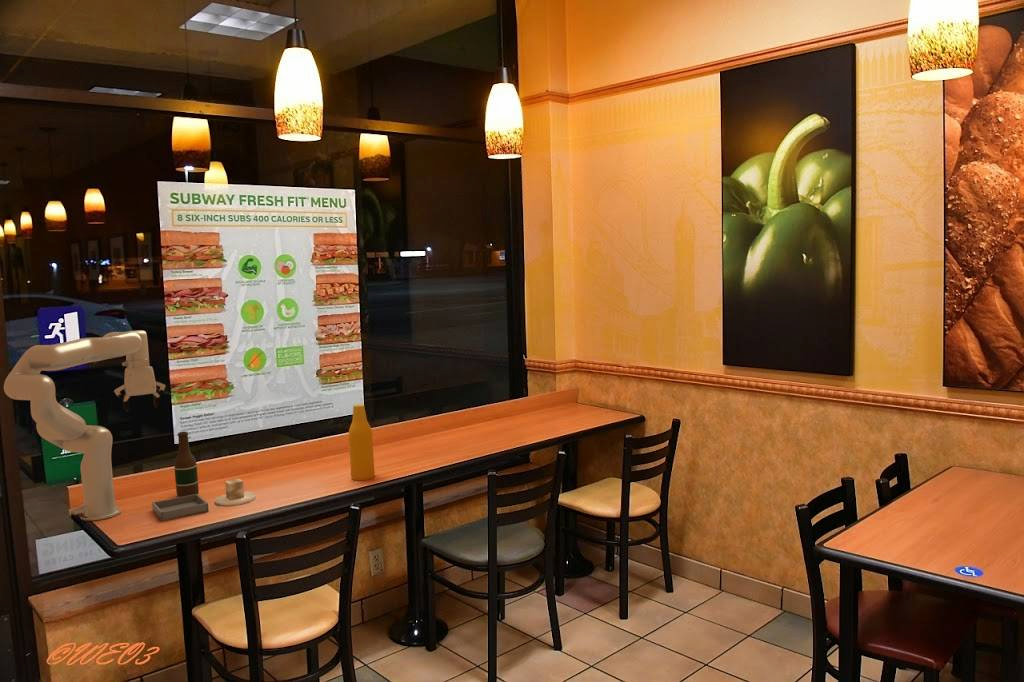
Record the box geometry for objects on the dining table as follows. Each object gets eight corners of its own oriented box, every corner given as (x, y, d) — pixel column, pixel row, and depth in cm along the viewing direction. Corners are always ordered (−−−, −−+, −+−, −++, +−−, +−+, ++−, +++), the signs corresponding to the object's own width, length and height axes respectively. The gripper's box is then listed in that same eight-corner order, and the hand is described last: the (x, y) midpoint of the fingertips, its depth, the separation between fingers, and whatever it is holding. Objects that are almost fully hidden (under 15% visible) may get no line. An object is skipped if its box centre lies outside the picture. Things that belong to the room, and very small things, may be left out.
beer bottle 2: (369, 481, 300) (365, 407, 297) (347, 480, 301) (342, 407, 299) (378, 474, 309) (374, 403, 306) (356, 474, 310) (352, 403, 308)
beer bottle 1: (175, 498, 286) (170, 435, 284) (178, 493, 293) (172, 431, 291) (197, 496, 288) (192, 433, 286) (200, 490, 296) (195, 429, 293)
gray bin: (161, 521, 260) (161, 512, 260) (152, 510, 272) (151, 502, 272) (208, 511, 269) (207, 503, 268) (197, 501, 281) (197, 493, 281)
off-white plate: (221, 508, 272) (220, 505, 272) (210, 499, 283) (210, 496, 283) (260, 500, 280) (260, 497, 280) (249, 491, 291) (249, 489, 291)
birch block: (230, 500, 278) (228, 484, 277) (226, 497, 282) (225, 481, 281) (244, 497, 281) (243, 481, 280) (240, 494, 285) (239, 478, 284)
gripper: (113, 367, 277) (118, 414, 278) (165, 362, 287) (169, 407, 288) (110, 365, 283) (114, 411, 284) (161, 360, 293) (164, 405, 294)
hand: (142, 409), depth 286 cm, fingers open, 9 cm apart
